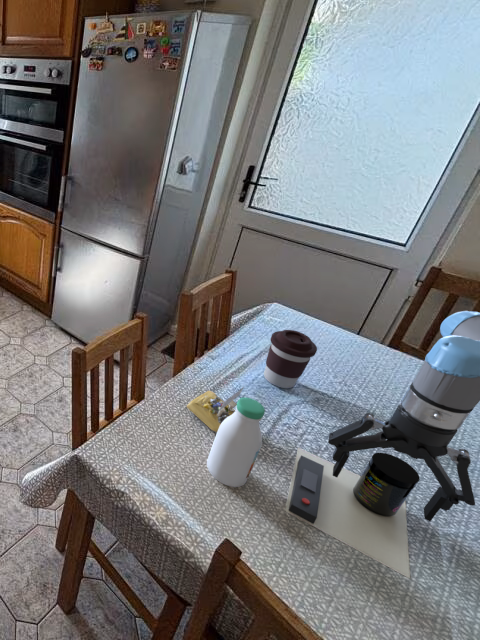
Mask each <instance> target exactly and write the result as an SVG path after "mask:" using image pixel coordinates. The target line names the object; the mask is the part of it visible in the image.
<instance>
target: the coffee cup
mask: <svg viewBox="0 0 480 640" xmlns="http://www.w3.org/2000/svg"><path fill="white" fill-rule="evenodd" d="M269 340H270V343H271V344H270V346H269V349H268V353H267V356H266V360H265V368H264V371H263V377H264V378H265V380H266V381H267V382H268V383H270V384H271V385H273V386H275V387H277V388H282V389H291V388H294V387H295V385H296V384H297V383H298V380H299V379H300V378H301V377H302V375H303V373H304V371H305V370H306V368H307V366H308V364H309V362H310V361H311V358H312V357H314V356H315V355H316V353H317V351H318V347H317V345H316V344H315V342H313V341H312V339H311V337H309V336H308V335H306V334H305V333H303V332H301V331H298V330H295V329H283V330H278V331H274V332H273V333H272V334H271V337H270V339H269Z"/></svg>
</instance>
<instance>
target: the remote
mask: <svg viewBox="0 0 480 640" xmlns="http://www.w3.org/2000/svg"><path fill="white" fill-rule="evenodd" d="M323 469H324V466H323V465H321V464H319V463H317V462H315V461H312V460H310V459H308V458H306V457H304V456H302V455H301V457H300V459H299V461H298V465H297V470H296V476H295V481H294V486H293V491H292V496H291V501H290V506H289V511H290V512H292V513H294V514H296V515H298V516H300V517H301V518H303V519H305V520H307V521H309V522H311V523H312V524H314V522H315V520H316V518H317V514H318V506H319V499H320V491H321V484H322V476H323Z"/></svg>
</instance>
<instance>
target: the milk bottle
mask: <svg viewBox="0 0 480 640" xmlns="http://www.w3.org/2000/svg"><path fill="white" fill-rule="evenodd" d="M236 404H237V405H236V406H235V412H234V413H233V414H232V415H230V416H228V417H227V418H226V419H225V420H224V421H223V422H222V423H221V425H220V427H219V429H218V431H217V432H216V435H215V437H214V440H213V443H212V445H211V449H210V450H209V451H210V452H209V454H208V457H207V460H206V467H207V470H208V472H209V473H210V475H211V476H212V477H213V478H214V479H215V480H216V481H217V482H219V483H220V484H223V485H224V486H228V487H231V488H241V487H242V486H244V485H245V484H246V483H247V481H248V479H249V477H250V474H251V472H252V470H253V468H254V465H255V463H256V460H257V458H258V456H259V453H260V450H261V447H262V442H263V436H262V430H261V427H260V422H261V421H262V420H263V417H264V416H265V412H266V411H265V410H266V409H265V407H264V405H263V404H262V403H261V402H259V401H258V400H256V399H255V398H252V397H251V398H250V397H240V398H239V399H238V400H237V403H236Z"/></svg>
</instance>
